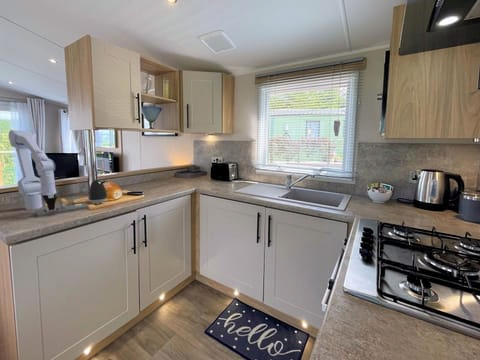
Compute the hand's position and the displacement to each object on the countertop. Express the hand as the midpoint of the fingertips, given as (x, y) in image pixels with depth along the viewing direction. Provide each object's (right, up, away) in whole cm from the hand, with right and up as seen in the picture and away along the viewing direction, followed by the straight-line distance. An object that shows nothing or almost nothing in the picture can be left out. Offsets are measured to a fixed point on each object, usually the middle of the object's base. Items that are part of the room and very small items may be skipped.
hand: (51, 208), depth 123 cm
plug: (0, -2, 0) cm, 2 cm away
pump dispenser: (+11, 0, +23) cm, 26 cm away
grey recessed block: (+4, -3, +4) cm, 6 cm away
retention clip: (+6, +3, +1) cm, 7 cm away
